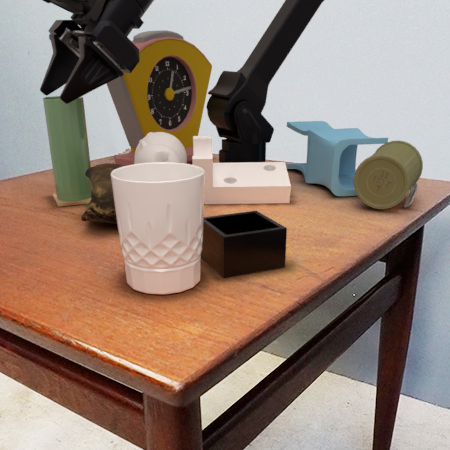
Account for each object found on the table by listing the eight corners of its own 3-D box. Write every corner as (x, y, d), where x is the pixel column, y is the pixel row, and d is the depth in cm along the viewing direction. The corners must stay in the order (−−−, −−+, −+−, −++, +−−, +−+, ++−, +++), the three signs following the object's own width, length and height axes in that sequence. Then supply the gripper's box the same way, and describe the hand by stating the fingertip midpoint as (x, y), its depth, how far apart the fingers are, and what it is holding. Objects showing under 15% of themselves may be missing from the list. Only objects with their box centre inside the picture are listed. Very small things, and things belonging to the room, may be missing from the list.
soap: (137, 158, 102) (136, 153, 102) (114, 157, 103) (113, 152, 103) (151, 150, 111) (151, 146, 111) (130, 149, 112) (129, 145, 112)
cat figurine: (161, 128, 72) (166, 114, 83) (98, 172, 74) (111, 153, 85) (198, 182, 76) (198, 162, 86) (137, 222, 78) (145, 198, 89)
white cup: (124, 265, 53) (115, 162, 49) (204, 263, 54) (202, 161, 49) (116, 300, 46) (105, 183, 42) (209, 296, 47) (207, 180, 42)
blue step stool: (330, 197, 76) (284, 169, 94) (381, 194, 78) (326, 167, 95) (335, 139, 73) (286, 121, 90) (388, 137, 74) (330, 120, 92)
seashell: (90, 198, 75) (97, 147, 72) (154, 212, 76) (164, 162, 73) (64, 234, 60) (71, 172, 57) (145, 250, 61) (155, 190, 58)
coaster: (91, 193, 79) (91, 190, 79) (99, 202, 75) (98, 198, 74) (53, 197, 77) (52, 193, 77) (58, 206, 73) (57, 203, 72)
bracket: (194, 210, 74) (192, 159, 69) (195, 185, 79) (193, 136, 75) (288, 209, 74) (293, 157, 69) (283, 184, 80) (287, 135, 75)
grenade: (379, 228, 71) (404, 195, 82) (426, 199, 66) (447, 168, 78) (342, 175, 70) (373, 149, 81) (388, 143, 65) (414, 120, 77)
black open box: (255, 246, 58) (256, 210, 56) (285, 267, 53) (287, 227, 51) (199, 255, 56) (198, 217, 54) (223, 278, 50) (223, 237, 49)
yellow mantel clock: (138, 175, 89) (127, 29, 80) (102, 168, 94) (88, 30, 85) (222, 155, 105) (221, 31, 95) (187, 150, 110) (183, 31, 101)
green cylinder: (100, 196, 75) (89, 97, 70) (66, 203, 72) (53, 100, 67) (83, 190, 79) (72, 95, 73) (50, 195, 76) (36, 97, 70)
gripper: (53, -50, 71) (-18, 46, 71) (102, -67, 57) (14, 53, 57) (116, 17, 78) (52, 104, 78) (174, 17, 64) (95, 123, 64)
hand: (52, 96), depth 69 cm, fingers open, 9 cm apart
